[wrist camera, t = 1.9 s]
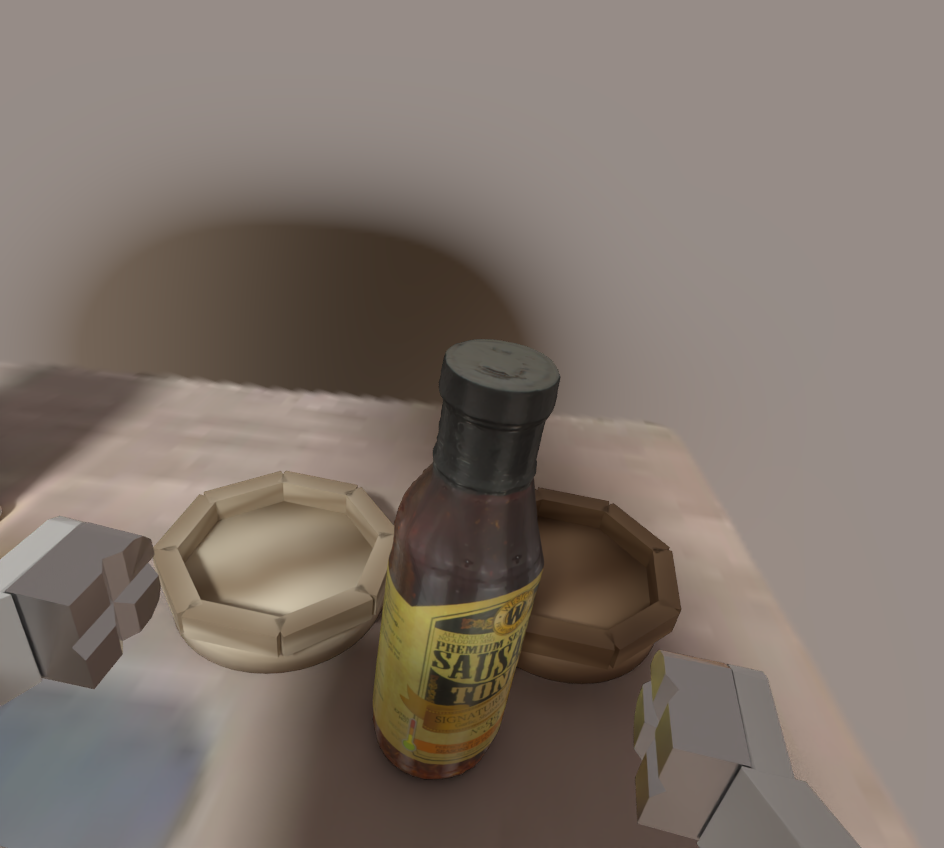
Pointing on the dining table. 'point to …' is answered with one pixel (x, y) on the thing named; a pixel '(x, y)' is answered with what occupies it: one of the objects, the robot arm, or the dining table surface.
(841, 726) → the dining table surface
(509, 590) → the sauce bottle
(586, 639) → the walnut ring seat
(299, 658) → the birch ring seat
